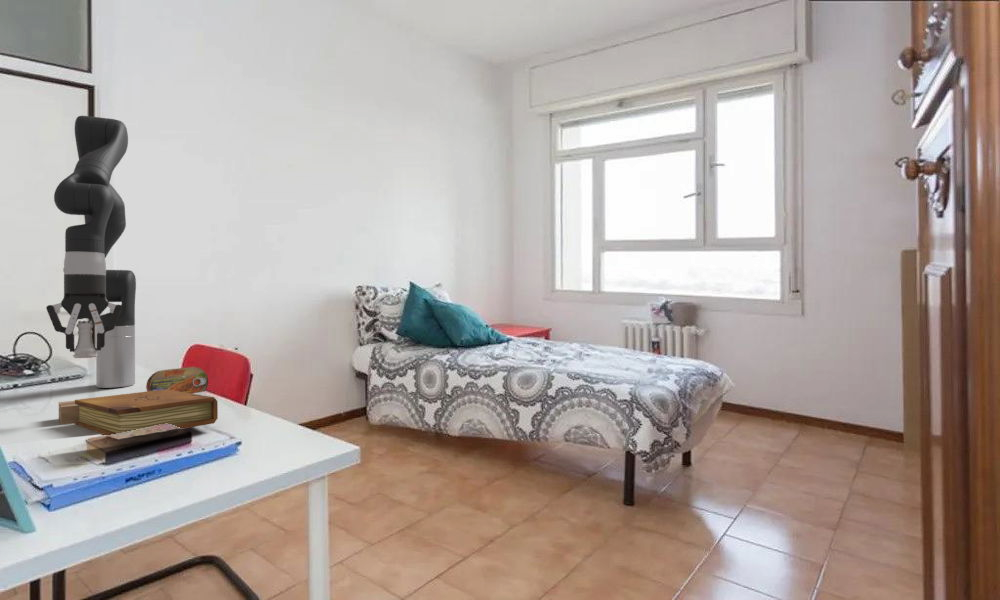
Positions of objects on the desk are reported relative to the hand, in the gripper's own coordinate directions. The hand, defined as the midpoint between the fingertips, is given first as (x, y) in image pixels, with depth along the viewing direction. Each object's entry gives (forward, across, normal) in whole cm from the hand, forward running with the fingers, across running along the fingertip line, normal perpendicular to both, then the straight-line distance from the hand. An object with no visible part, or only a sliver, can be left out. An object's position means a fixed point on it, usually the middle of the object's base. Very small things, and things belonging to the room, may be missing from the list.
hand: (85, 350), depth 125 cm
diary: (+16, -11, +13) cm, 23 cm away
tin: (+15, -19, -19) cm, 31 cm away
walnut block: (+15, +1, -1) cm, 15 cm away
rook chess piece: (+2, 0, 0) cm, 2 cm away
